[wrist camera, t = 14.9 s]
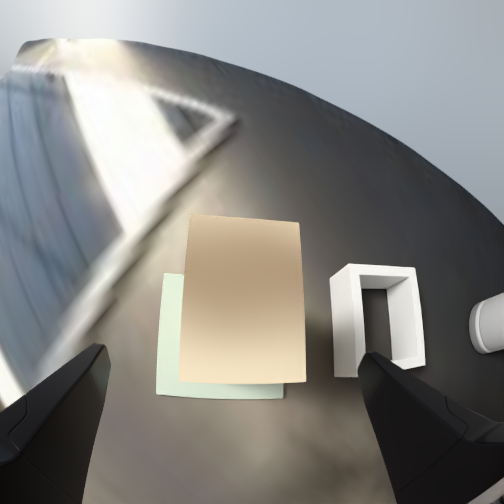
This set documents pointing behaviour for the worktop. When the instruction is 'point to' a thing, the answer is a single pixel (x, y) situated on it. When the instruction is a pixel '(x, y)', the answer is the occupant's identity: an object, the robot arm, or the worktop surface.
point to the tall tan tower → (242, 302)
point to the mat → (171, 351)
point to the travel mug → (488, 325)
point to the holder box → (352, 322)
